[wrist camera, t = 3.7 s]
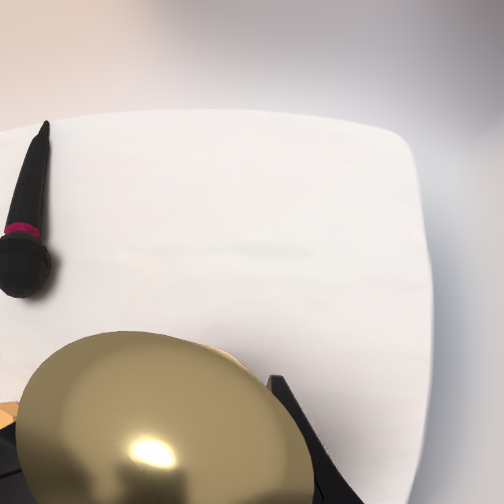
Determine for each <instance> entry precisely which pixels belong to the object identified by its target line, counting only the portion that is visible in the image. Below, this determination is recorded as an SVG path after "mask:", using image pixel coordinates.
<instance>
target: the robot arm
mask: <svg viewBox="0 0 504 504" xmlns="http://www.w3.org/2000/svg"><path fill="white" fill-rule="evenodd" d="M267 388H268V389H269V391H270V392H271V393H272V394H273V395H274V396H275V397H276V398H277V399H278V400H279V401H280V402H281V403H282V404H283V406H284V407H285V408H286V410H287V411H288V413H289V414H290V415H291V417H292V418H293V419H294V421H295V422H296V424H297V426H298V428H299V430H300V432H301V434H302V436H303V437H304V439H305V442H306V445H307V448H308V451H309V453H310V456H311V461H312V467H313V472H314V494H313V500H312V504H364V503H363V501H362V500H361V499H360V498H359V497H358V496H357V494H356V493H355V492H354V491H353V490H352V488H351V487H350V486H349V485H348V483H347V482H346V481H345V479H344V478H343V477H342V476H341V474H340V473H339V471H338V470H337V468H336V467H335V465H334V464H333V462H332V460H331V459H330V457H329V455H328V454H326V450H325V449H324V447H323V445H322V444H321V442H320V440H319V439H318V437H317V435H316V433H315V432H314V430H313V428H312V427H311V425H310V423H309V421H308V420H307V418H306V416H305V414H304V413H303V411H302V409H301V407H300V406H299V404H298V402H297V400H296V399H295V397H294V395H293V393H292V392H291V390H290V388H289V386H288V384H287V383H286V381H285V379H284V377H283V376H281V375H270V377H269V380H268V383H267ZM0 504H38V503H37V501H36V500H35V498H34V496H33V495H32V493H31V491H30V488H29V486H28V484H27V482H26V480H25V477H24V474H23V472H22V469H21V466H20V462H19V457H18V453H17V446H16V421H14V422H13V423H11V424H9V425H7V426H5V427H3V428H2V429H0Z"/></svg>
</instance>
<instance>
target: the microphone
mask: <svg viewBox="0 0 504 504" xmlns="http://www.w3.org/2000/svg"><path fill="white" fill-rule="evenodd" d="M48 126H49V122H48V121H44V123H43V125H42V127H41V129H40V131H39V133H38V135H37V136H35V137H34V138H33V140H32V142H31V144H30V146H29V148H28V151H27V154H26V156H25V159H24V162H23V165H22V168H21V171H20V174H19V177H18V180H17V184H16V187H15V190H14V194H13V198H12V201H11V205H10V209H9V213H8V217H7V221H6V226H5V230H4V233H5V235H4V236H2V237H1V238H0V289H1V290H2V291H3V292H5V293H6V294H7V295H8V296H11V297H14V298H26V297H30V296H31V295H33V294H34V293H36V292H37V291H38V290H39V289H40V288H41V286H42V285H43V283H44V280H45V278H46V273H47V272H48V271H49V269H50V268H51V257H50V255H49V253H48V251H47V249H46V247H44V246H42V244H41V242H40V240H39V239H38V238H39V237H40V232H41V216H42V203H43V202H42V199H43V188H44V179H45V171H46V164H47V157H48V151H49V140H48V137H47V135H48Z"/></svg>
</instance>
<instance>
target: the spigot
mask: <svg viewBox="0 0 504 504" xmlns="http://www.w3.org/2000/svg"><path fill="white" fill-rule="evenodd" d="M16 446H17V453H18V457H19V462H20V466H21V469H22V472H23V474H24V477H25V480H26V482H27V484H28V486H29V488H30V491H31V493H32V495H33V496H34V498H35V500H36V501H37V503H38V504H312V500H313V494H314V472H313V467H312V461H311V456H310V453H309V451H308V448H307V445H306V442H305V439H304V437H303V436H302V434H301V432H300V430H299V428H298V426H297V424H296V422H295V421H294V419H293V418H292V417H291V415H290V414H289V413H288V411H287V410H286V408H285V407H284V406H283V404H282V403H281V402H280V401H279V400H278V399H277V398H276V397H275V396H274V395H273V394H272V393H271V392H270V391H269V389H268V388H267V387H265V386H264V385H263V384H262V383H261V382H260V381H259V380H258V379H257V378H256V377H255V376H254V375H253V374H252V373H251V372H250V371H248V370H247V369H246V368H245V367H244V366H243V365H242V364H241V363H240V362H239V361H238V360H237V359H236V358H235V357H234V356H232V355H231V354H229V353H228V352H226V351H224V350H221V349H218V348H214V347H209V346H205V345H201V344H197V343H193V342H189V341H185V340H182V339H178V338H174V337H170V336H167V335H162V334H155V333H148V332H136V331H118V332H109V333H101V334H97V335H93V336H89V337H85V338H82V339H80V340H77V341H75V342H72V343H70V344H68V345H66V346H64V347H63V348H61V349H60V350H58V351H56V352H55V353H53V354H52V355H51V356H50V357H49V358H48V359H46V360H45V361H44V362H43V363H42V364H41V365H40V366H39V368H38V369H37V370H36V371H35V373H34V374H33V375H32V377H31V378H30V380H29V382H28V384H27V385H26V387H25V389H24V392H23V394H22V397H21V400H20V403H19V407H18V412H17V417H16Z"/></svg>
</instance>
